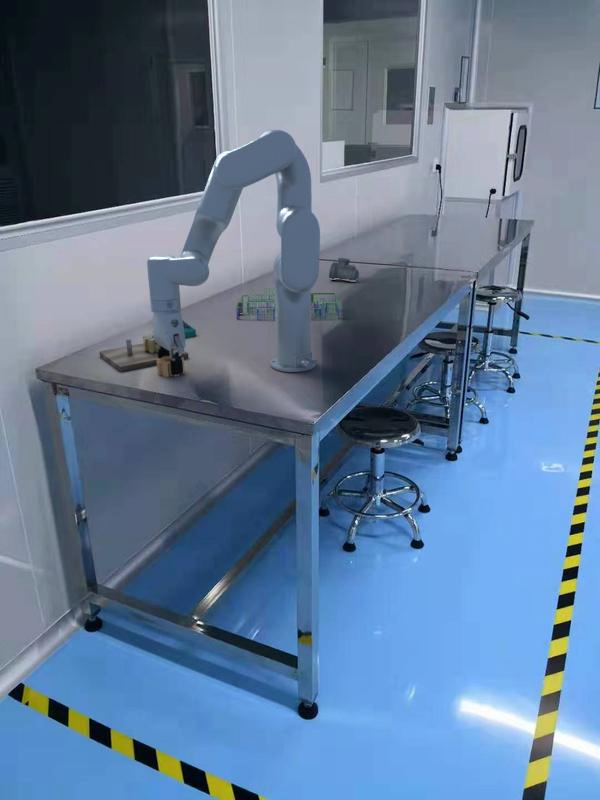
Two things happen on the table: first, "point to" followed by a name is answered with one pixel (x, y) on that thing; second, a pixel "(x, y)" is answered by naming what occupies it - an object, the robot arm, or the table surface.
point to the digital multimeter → (188, 330)
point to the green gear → (149, 343)
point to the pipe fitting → (343, 270)
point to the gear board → (132, 357)
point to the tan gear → (166, 366)
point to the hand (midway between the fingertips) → (170, 369)
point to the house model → (240, 306)
